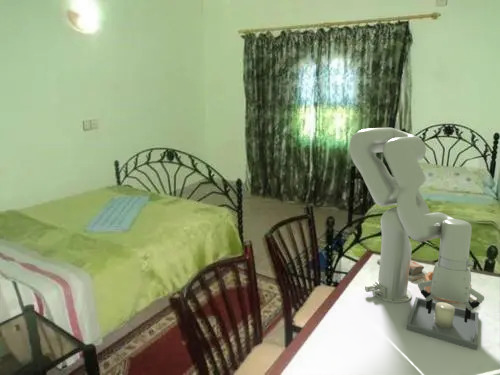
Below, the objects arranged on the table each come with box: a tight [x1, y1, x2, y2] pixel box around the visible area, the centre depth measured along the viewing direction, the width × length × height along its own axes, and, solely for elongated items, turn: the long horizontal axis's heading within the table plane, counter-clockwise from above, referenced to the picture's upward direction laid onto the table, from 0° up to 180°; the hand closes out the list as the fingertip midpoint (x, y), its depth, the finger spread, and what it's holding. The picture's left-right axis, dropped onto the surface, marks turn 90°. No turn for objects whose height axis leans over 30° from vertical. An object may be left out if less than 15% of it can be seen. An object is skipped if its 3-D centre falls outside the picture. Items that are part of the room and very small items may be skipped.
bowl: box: [423, 271, 473, 304], centre depth 134 cm, size 14×14×5 cm
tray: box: [406, 296, 479, 351], centre depth 116 cm, size 18×18×2 cm
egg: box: [433, 301, 455, 328], centre depth 116 cm, size 5×5×6 cm
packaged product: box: [376, 259, 428, 282], centre depth 152 cm, size 18×5×10 cm
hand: (447, 315), depth 115 cm, fingers open, 9 cm apart
